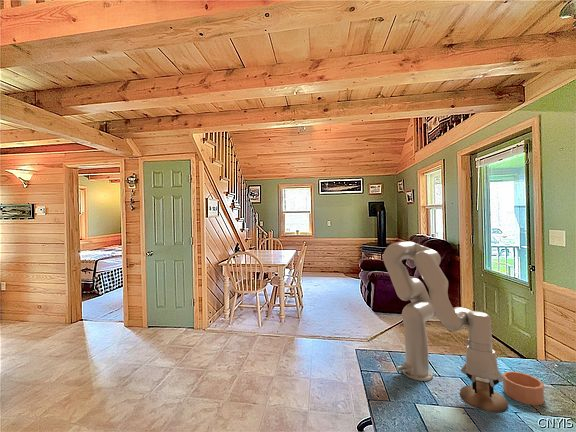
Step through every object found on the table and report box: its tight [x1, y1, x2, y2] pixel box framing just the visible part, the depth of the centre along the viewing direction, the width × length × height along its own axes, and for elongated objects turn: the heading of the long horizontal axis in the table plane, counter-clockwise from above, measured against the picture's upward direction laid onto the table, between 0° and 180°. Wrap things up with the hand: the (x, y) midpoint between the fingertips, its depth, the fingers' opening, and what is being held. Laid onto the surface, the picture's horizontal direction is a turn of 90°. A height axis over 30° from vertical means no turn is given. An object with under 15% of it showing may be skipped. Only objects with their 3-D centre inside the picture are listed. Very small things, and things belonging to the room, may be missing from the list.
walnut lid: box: [459, 376, 509, 413], centre depth 107 cm, size 15×15×7 cm
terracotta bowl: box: [502, 370, 545, 406], centre depth 109 cm, size 12×12×6 cm
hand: (483, 393), depth 107 cm, fingers closed on walnut lid, 4 cm apart
